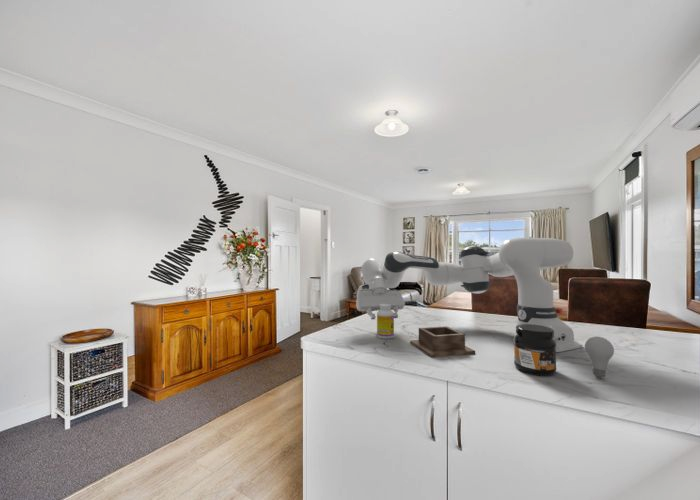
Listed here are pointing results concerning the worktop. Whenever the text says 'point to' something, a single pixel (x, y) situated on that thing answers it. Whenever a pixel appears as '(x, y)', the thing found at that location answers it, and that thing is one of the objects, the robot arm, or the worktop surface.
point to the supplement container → (535, 349)
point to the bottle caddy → (441, 342)
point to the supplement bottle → (385, 322)
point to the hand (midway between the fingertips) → (384, 318)
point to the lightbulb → (599, 354)
